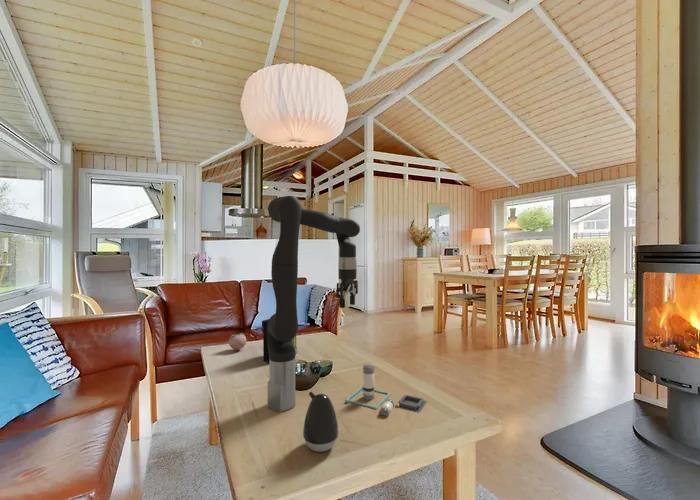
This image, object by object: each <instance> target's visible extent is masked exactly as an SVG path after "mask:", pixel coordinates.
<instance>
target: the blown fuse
mask: <svg viewBox="0 0 700 500" xmlns="http://www.w3.org/2000/svg"><path fill="white" fill-rule="evenodd" d="M362 368H363V369H362V370H363V371H362V372H363V380H362V381H363V383H362V385H363V391H362V392H363V395H362V396H363V397H362V398H363V399H364V400H366V401H372V400H374V399H375V391H374V389H375V366H374V365H372V364H365V365H362Z"/></svg>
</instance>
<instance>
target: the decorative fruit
mask: <svg viewBox="0 0 700 500" xmlns="http://www.w3.org/2000/svg"><path fill="white" fill-rule="evenodd" d="M228 339H229V340H228V345H229V346H230V348H231V349H233V350H235V351H240V350H242V349H243V348H244V347H245V346H246V344H247V337H246V334H245V333H243V332H240V333H239V332H238V333H237V334H231V336H230V337H229V338H228Z"/></svg>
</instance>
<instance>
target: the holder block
mask: <svg viewBox="0 0 700 500" xmlns="http://www.w3.org/2000/svg"><path fill="white" fill-rule="evenodd" d="M427 403H428V400H424V398H423V397H419V396H415V395H409V394H406V393H405V394H404V395H403V396H402V397H401V398H400V399H399V400H398V402H397V403H396V405H395V404H394V408H397V409H401V410H402V409H403V410H405V411H410V412H414V413H417V414H419V413H421V411H422V410H423V408H424V407H425V405H427Z"/></svg>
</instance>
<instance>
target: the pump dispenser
mask: <svg viewBox="0 0 700 500" xmlns="http://www.w3.org/2000/svg"><path fill="white" fill-rule="evenodd" d="M308 395H309V396H310V397H309V398H311V400H310V403H309V404H308V407H307V411H306V414H305V418H304V423H303V429H302V437H303V439H304V441H305V444H306V446H307V447H308V448H309V449H310V450H311V451H314V452H318V453H321V452H326V451H328V450H329V451H330V449H332V448H333V447H334V445H335V444H336V441H337V438H338V437H339V424H338V419H337V414H336V411H335V408H334V404H333V403H332V402H333V401H332V400H331V399H330V397H329V396H328V395H326V394H324V393H318V394H315V393H314V392H312V391H310V392H309V393H308Z"/></svg>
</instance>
